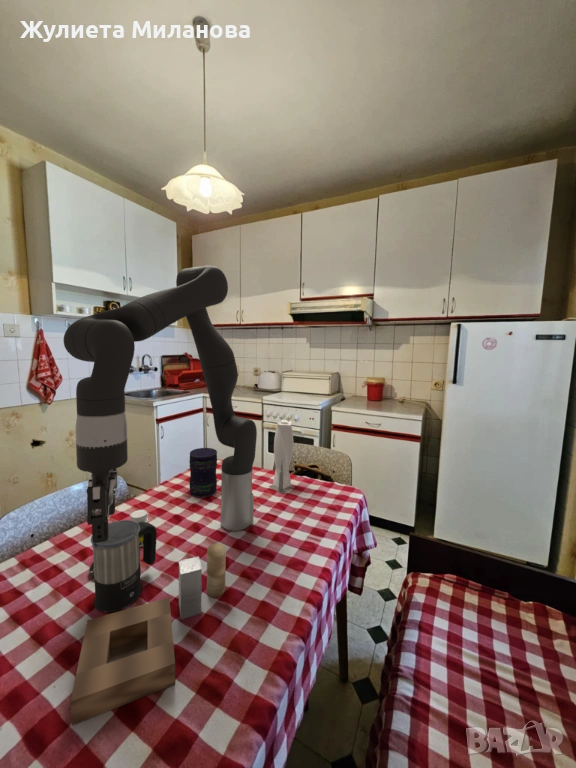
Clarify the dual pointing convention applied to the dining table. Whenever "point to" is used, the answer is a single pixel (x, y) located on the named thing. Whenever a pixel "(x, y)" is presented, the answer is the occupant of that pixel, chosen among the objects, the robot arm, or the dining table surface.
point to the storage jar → (203, 472)
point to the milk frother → (121, 564)
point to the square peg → (190, 587)
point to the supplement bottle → (139, 517)
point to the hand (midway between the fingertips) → (104, 526)
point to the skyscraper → (282, 455)
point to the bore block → (123, 659)
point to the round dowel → (216, 569)
